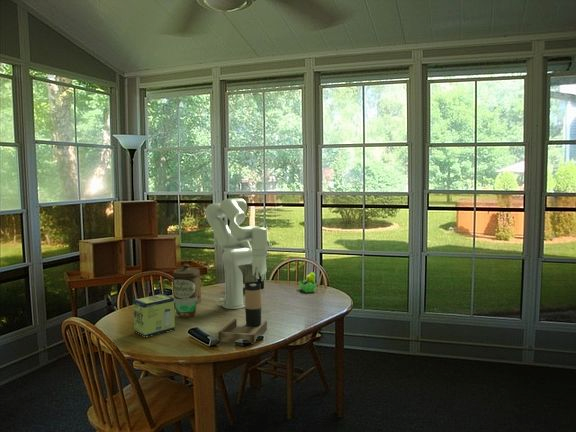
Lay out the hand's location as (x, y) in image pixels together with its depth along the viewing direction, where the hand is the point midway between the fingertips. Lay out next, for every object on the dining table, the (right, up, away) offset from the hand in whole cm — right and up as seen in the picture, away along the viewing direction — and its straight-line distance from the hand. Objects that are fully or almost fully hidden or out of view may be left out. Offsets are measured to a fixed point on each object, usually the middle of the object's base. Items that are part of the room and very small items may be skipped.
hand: (260, 288), depth 238 cm
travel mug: (-3, -16, -10) cm, 19 cm away
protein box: (-48, -17, -18) cm, 54 cm away
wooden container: (-43, -13, +32) cm, 55 cm away
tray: (-6, -17, -25) cm, 31 cm away
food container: (-38, -15, +3) cm, 41 cm away
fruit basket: (+26, -10, +56) cm, 62 cm away
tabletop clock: (-10, -10, +60) cm, 62 cm away
